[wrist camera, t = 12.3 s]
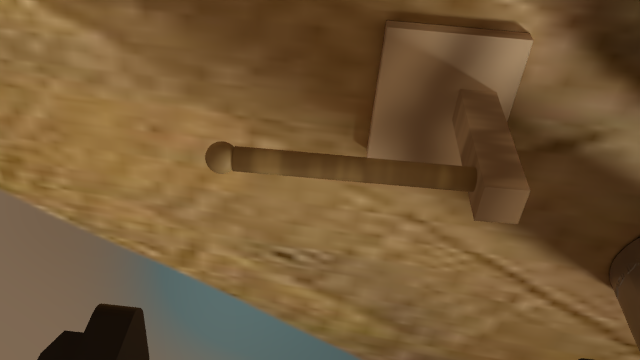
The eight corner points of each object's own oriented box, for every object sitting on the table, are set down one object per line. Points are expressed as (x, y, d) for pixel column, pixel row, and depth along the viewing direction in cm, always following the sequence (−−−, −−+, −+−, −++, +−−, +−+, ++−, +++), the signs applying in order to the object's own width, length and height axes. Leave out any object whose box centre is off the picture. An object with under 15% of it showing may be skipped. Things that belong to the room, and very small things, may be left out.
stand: (529, 33, 38) (579, 133, 30) (489, 160, 44) (521, 273, 36) (229, 6, 38) (192, 99, 29) (232, 137, 44) (202, 246, 36)
